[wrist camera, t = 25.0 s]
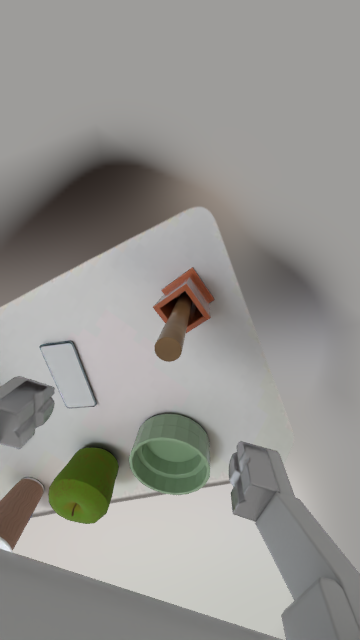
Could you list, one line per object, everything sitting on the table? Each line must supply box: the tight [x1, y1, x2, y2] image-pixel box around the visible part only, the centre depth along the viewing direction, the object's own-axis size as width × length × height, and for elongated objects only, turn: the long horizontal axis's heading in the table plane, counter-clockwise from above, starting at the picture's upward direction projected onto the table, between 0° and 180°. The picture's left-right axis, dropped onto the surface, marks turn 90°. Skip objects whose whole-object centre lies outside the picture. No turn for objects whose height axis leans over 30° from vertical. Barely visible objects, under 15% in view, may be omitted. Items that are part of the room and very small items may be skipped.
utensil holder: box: [153, 267, 214, 333], centre depth 28 cm, size 6×6×10 cm
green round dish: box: [129, 414, 210, 495], centre depth 40 cm, size 15×15×6 cm
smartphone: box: [40, 341, 96, 408], centre depth 40 cm, size 7×1×15 cm
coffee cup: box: [0, 477, 44, 552], centre depth 49 cm, size 10×10×12 cm
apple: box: [48, 448, 119, 524], centre depth 42 cm, size 12×12×11 cm
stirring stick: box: [155, 291, 193, 361], centre depth 23 cm, size 2×2×18 cm
